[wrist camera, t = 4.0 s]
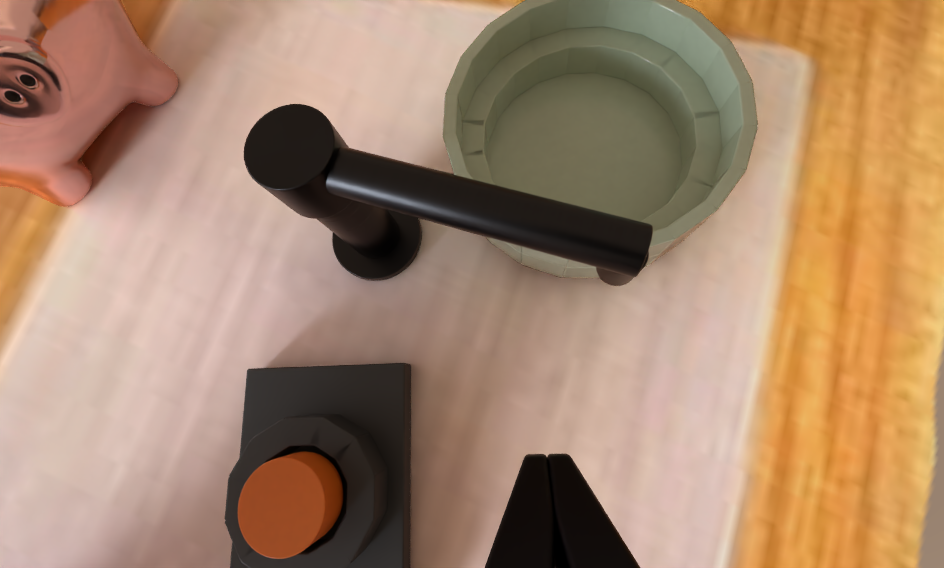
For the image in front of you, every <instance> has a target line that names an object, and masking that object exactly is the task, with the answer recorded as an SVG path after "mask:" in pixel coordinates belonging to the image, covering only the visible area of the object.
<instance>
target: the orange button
mask: <svg viewBox="0 0 944 568" xmlns="http://www.w3.org/2000/svg"><path fill="white" fill-rule="evenodd" d="M342 504H343V485H342V481H341V478H340V475H339V473H338V471H337V469H336V468H335V466H334V465H333V464H332V463H331V462H330V461H329V460H328V459H327V458H325V457H324V456H322V455H320V454H317V453H314V452H307V451H303V452H297V453H293V454H290V455H286V456H283V457H279V458H276V459H273V460H270V461H268V462H266V463H264V464H262V465H261V466H260V467H258V468H257V469H256V470H255V471H254V472H253V473H252V474H251V476H250V477H249V478H248V480H247V481H246V483H245V485H244V487H243V489H242V492H241V494H240V498H239V503H238V522H239V526H240V529H241V532H242V534H243V537H244V538H245V540H246V541H247V543H248V544H249V545H250V546H251V548H253V549H254V550H255V551H256V552H258V553H259V554H261V555H263V556H266V557H269V558H274V559H284V558H289V557H292V556H295V555H297V554H299V553H301V552H302V551H304V550H305V549H306V548H308V547H309V546H310V545H312V544H313V543H314V542H316V541H317V540H318V539H320V538H321V537H322V536H324V535H325V534H326V533H327V532H328V531H329V530H330V529H331V528H332V527H333V525H334V524H335V522H336V521H337V519H338V517H339V515H340V512H341V509H342Z"/></svg>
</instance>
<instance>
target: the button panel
mask: <svg viewBox="0 0 944 568" xmlns="http://www.w3.org/2000/svg"><path fill="white" fill-rule="evenodd" d="M410 447H411V365H410V364H406V363H392V364H365V365H338V366H311V367H284V368H258V369H248V370H247V379H246V390H245V402H244V413H243V425H242V437H241V448H240V458H239V460H238V462H237V463H236V465H235V467H234V468H233V470H232V472H231V473H230V475H229V476H230V477H229V479H228V489H227V500H226V511H225V520H226V521H225V524H226V526H227V529H228V531H229V534H230V536H231V539H232V552H231V564H230V568H410ZM303 451H307V452H314V453H317V454H320V455H322V456H324V457H325V458H327V459H328V460H329V461H330V462H331V463H332V464H333V465H334V466H335V468H336V469H337V471H338V473H339V475H340V478H341V481H342V485H343V504H342V509H341V512H340V515H339V517H338V519H337V521H336V522H335V524H334V525H333V527H332V528H331V529H330V530H329V531H328V532H327V533H326V534H325V535H324V536H322V537H321V538H320V539H318V540H317V541H316V542H314V543H313V544H312V545H310V546H309V547H308V548H306V549H305V550H304V551H302V552H301V553H299V554H297V555H295V556H292V557H289V558H284V559H274V558H269V557H266V556H263V555H261V554H259V553H258V552H256V551H255V550H254V549H253V548H251V546H250V545H249V544H248V543H247V541H246V540H245V538H244V537H243V534H242V532H241V529H240V526H239V522H238V503H239V498H240V494H241V492H242V489H243V487H244V485H245V483H246V481H247V480H248V478H249V477H250V476H251V474H252V473H253V472H254V471H255V470H256V469H257V468H258V467H260V466H261V465H262V464H264V463H266V462H268V461H270V460H273V459H276V458H279V457H283V456H286V455H290V454H293V453H297V452H303Z"/></svg>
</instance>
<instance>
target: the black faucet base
mask: <svg viewBox="0 0 944 568" xmlns="http://www.w3.org/2000/svg"><path fill="white" fill-rule="evenodd" d="M317 220H319V221H320V222H321V223H322V224H324V225H325V226H326V227H327V228H329V229H330V230H331V231H332V232H333V239H332V240H333V249H334V252H335V255H336V257H337V259H338V261H339V262H340V264H341V265H342V266H343V267H344V268H345V269H346V270H347V271H349V272H350V273H351V274H353V275H355V276H357V277H359V278H362V279H365V280H372V281H375V280H384V279H388V278H391V277H393V276H396V275H397V274H399V273H401V272H402V271H403V270H405V269H406V268H407V267H408V266H409V265H410V264H411V262H412V261H413V260H414V258H415V257H416V255H417V253H418V251H419V248H420V244H421V239H422V231H421V225H420V221H419V219H418V218H416V217H413V216H409V215H405V214H402V213H398V212H395V211H391V210H387V209H384V208H380V207H376V206H373V205H369V204H365V203H362V202H358V201H355V200H353V201H352V202H351V203H350V204H349V205H348V206H347V207H346V208H345V209H344V210H342V211H341V212H339V213H337V214H335V215H333V216H330V217H326V218H318V219H317Z"/></svg>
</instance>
